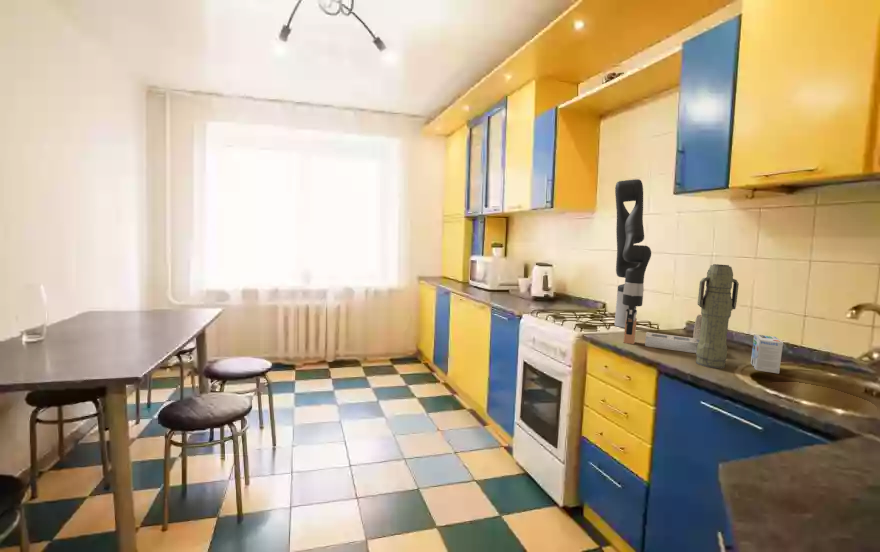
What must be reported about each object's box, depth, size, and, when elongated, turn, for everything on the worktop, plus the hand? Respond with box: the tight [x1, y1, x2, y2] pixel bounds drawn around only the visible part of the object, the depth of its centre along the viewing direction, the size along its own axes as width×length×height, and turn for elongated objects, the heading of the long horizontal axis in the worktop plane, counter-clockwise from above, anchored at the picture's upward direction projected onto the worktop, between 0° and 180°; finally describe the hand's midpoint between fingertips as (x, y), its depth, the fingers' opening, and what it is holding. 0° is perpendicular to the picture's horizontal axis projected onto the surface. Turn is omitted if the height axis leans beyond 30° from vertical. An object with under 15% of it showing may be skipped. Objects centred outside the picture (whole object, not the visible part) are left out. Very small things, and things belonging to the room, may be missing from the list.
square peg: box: [623, 317, 638, 345], centre depth 182 cm, size 4×4×10 cm
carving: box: [692, 314, 702, 339], centre depth 188 cm, size 6×8×12 cm
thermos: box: [695, 263, 739, 369], centre depth 153 cm, size 9×12×35 cm
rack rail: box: [644, 331, 700, 354], centre depth 176 cm, size 10×26×4 cm, turn 64°
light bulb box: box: [750, 334, 784, 374], centre depth 153 cm, size 11×7×11 cm, turn 154°
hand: (629, 332), depth 182 cm, fingers open, 8 cm apart
